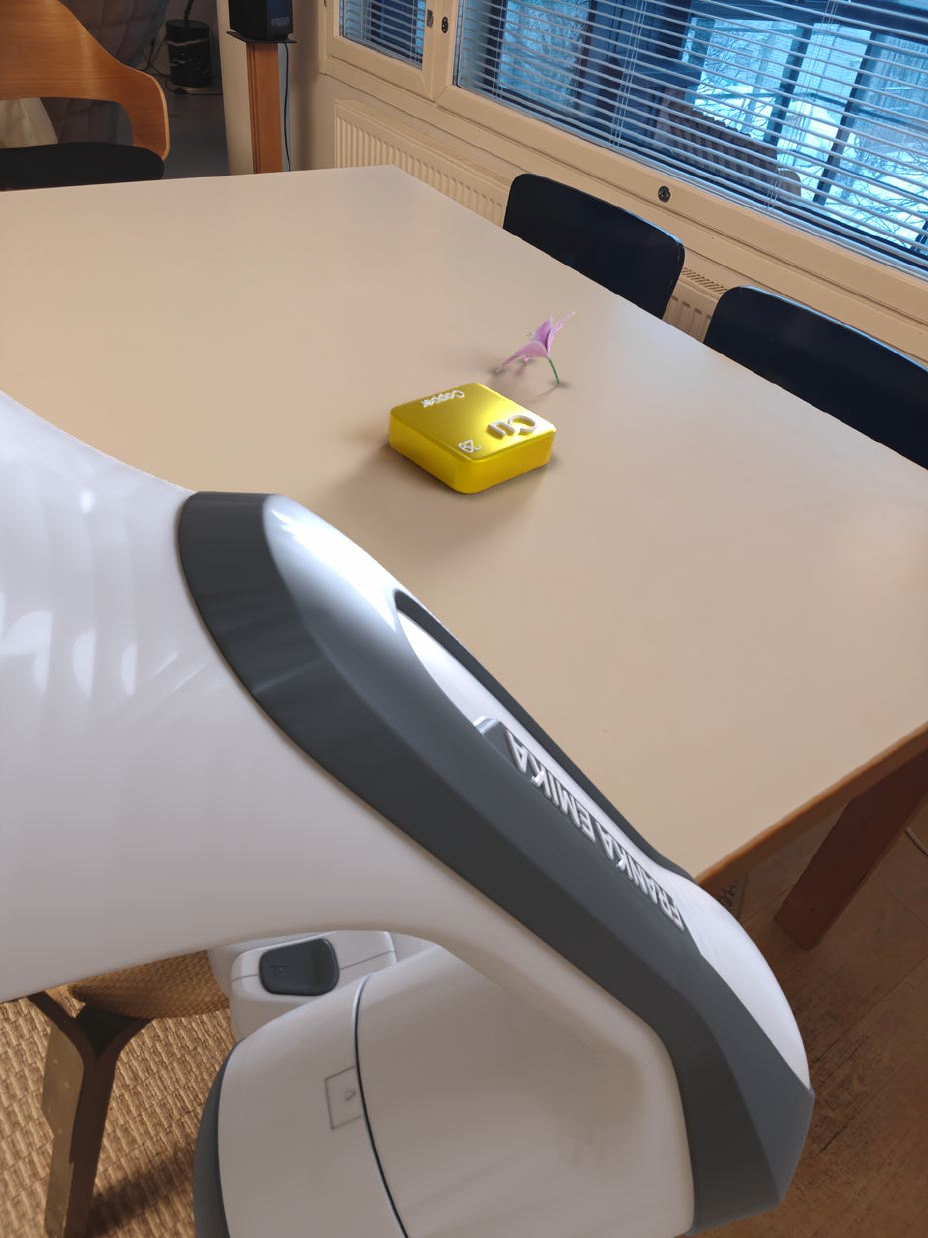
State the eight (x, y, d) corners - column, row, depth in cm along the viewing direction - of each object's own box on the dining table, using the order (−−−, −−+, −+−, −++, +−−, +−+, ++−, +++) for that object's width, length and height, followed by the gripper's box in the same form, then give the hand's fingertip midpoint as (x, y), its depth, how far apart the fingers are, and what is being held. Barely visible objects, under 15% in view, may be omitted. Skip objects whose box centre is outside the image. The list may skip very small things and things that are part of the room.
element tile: (472, 410, 111) (476, 375, 108) (556, 461, 103) (564, 425, 100) (380, 441, 102) (382, 404, 99) (465, 499, 95) (470, 461, 92)
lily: (567, 365, 127) (547, 301, 123) (609, 368, 116) (588, 298, 112) (498, 399, 124) (475, 335, 120) (534, 405, 114) (510, 335, 110)
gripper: (661, 907, 39) (558, 692, 49) (192, 1001, 34) (183, 737, 44) (629, 975, 43) (540, 763, 53) (206, 1069, 38) (195, 813, 48)
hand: (376, 752), depth 48 cm, fingers closed on tin, 2 cm apart
